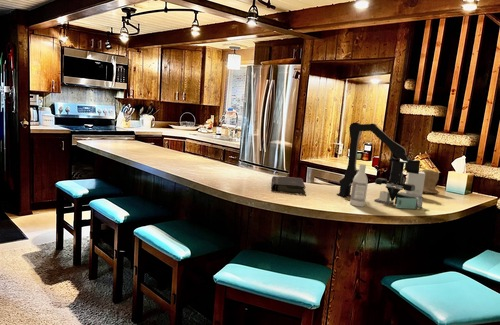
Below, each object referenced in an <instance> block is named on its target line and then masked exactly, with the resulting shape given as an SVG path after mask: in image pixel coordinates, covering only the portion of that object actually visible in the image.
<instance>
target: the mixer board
mask: <svg viewBox="0 0 500 325" xmlns="http://www.w3.org/2000/svg"><path fill="white" fill-rule="evenodd" d="M373 202H376V203H380V204H383V205H388V206H391V205H393V204H395V201H391V200H390V201H387V202H385V201H381V200H379V198H375V199H374V201H373Z"/></svg>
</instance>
